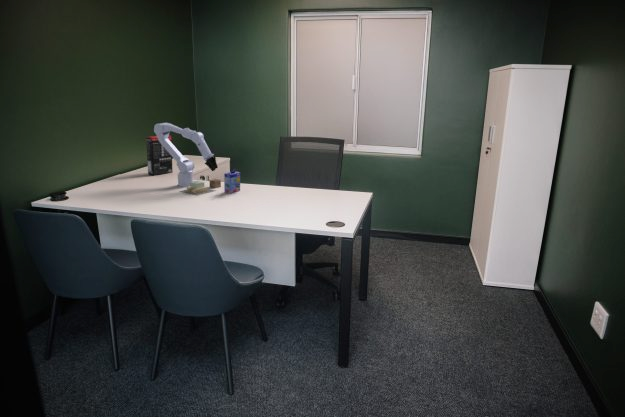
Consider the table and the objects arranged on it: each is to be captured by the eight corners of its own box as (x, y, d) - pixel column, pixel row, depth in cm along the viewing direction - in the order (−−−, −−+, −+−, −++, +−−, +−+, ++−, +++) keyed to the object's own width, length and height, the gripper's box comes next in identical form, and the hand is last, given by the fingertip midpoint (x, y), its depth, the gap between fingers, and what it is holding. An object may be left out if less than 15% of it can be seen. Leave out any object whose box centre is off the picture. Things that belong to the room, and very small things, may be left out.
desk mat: (178, 192, 271) (178, 191, 271) (198, 187, 284) (198, 186, 284) (196, 196, 263) (196, 195, 263) (216, 191, 276) (216, 190, 276)
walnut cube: (209, 187, 285) (209, 180, 284) (215, 186, 289) (215, 178, 288) (215, 188, 282) (214, 181, 281) (220, 187, 286) (220, 179, 285)
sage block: (190, 187, 272) (189, 182, 271) (197, 185, 277) (197, 180, 276) (197, 188, 269) (196, 183, 268) (204, 186, 274) (204, 182, 273)
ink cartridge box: (231, 194, 270) (230, 170, 266) (224, 193, 272) (223, 169, 268) (241, 191, 278) (240, 168, 274) (233, 190, 281) (233, 167, 277)
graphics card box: (167, 171, 331) (165, 134, 324) (173, 172, 327) (171, 135, 320) (147, 174, 318) (144, 136, 310) (153, 176, 314) (151, 137, 307)
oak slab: (186, 191, 272) (186, 187, 272) (197, 188, 279) (197, 184, 279) (197, 193, 267) (196, 189, 267) (208, 190, 275) (207, 186, 274)
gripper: (212, 144, 273) (222, 164, 274) (208, 150, 286) (218, 168, 288) (202, 149, 270) (212, 169, 272) (198, 154, 283) (208, 173, 285)
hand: (215, 169), depth 279 cm, fingers open, 7 cm apart
